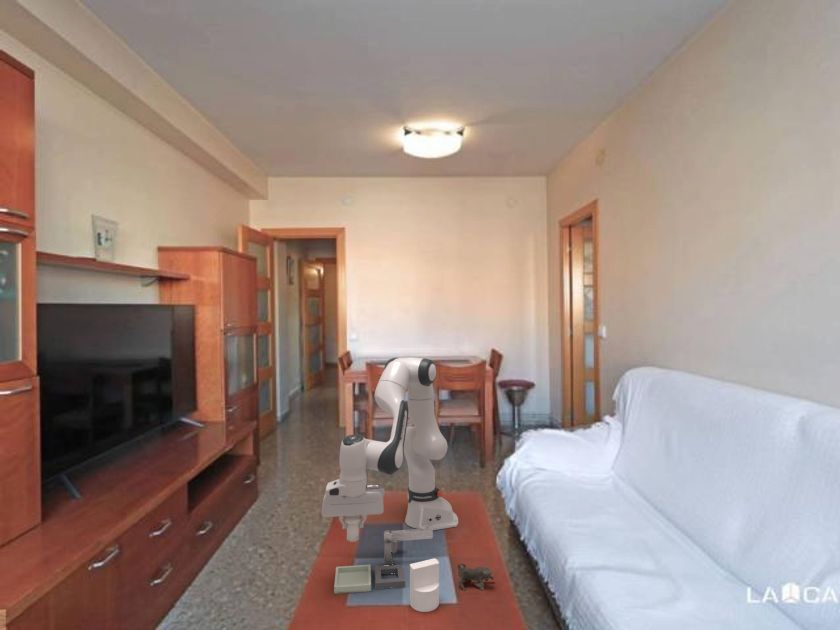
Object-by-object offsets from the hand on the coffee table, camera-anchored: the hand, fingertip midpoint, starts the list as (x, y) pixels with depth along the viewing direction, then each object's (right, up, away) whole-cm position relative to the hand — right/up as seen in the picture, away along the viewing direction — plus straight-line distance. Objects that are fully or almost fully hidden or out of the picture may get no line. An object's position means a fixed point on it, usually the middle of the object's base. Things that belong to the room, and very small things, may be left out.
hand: (353, 527), depth 151 cm
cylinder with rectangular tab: (+23, -19, -10) cm, 31 cm away
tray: (0, -18, 0) cm, 18 cm away
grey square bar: (+18, -10, +13) cm, 24 cm away
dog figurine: (+40, -19, -2) cm, 44 cm away
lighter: (+13, -18, +19) cm, 29 cm away
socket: (+11, -18, +5) cm, 22 cm away
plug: (0, -4, 0) cm, 4 cm away
